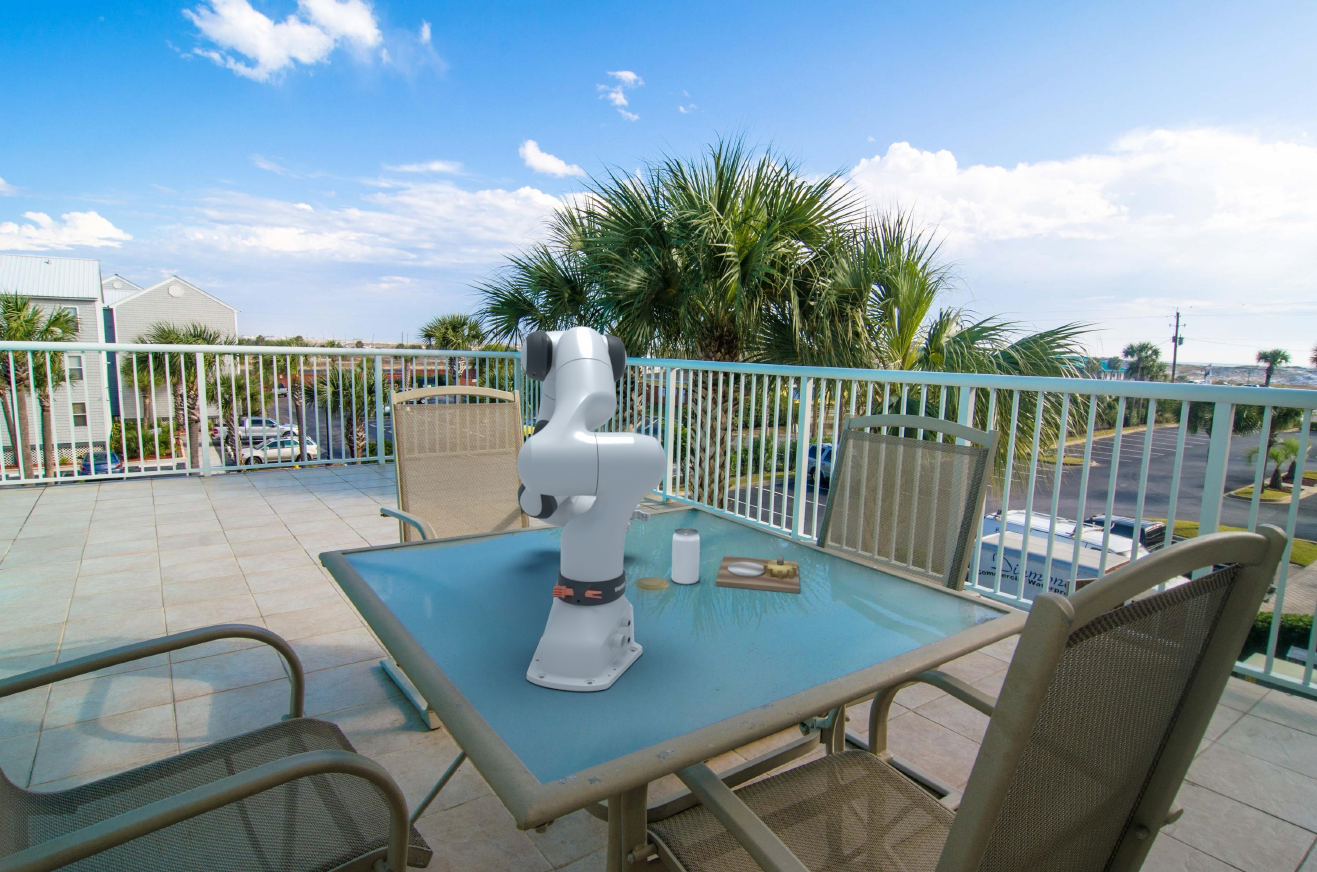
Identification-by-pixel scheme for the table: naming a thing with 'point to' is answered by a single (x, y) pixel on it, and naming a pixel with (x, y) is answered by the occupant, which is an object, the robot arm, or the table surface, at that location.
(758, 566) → the board
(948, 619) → the table surface
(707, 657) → the table surface
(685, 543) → the can
